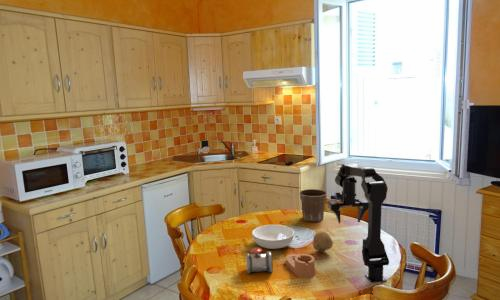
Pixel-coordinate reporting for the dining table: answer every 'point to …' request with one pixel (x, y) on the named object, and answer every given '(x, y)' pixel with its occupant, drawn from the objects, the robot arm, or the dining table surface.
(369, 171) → the robot arm
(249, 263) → the valve stub
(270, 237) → the serving bowl
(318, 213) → the plant pot
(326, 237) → the natural sponge
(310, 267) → the brown hollow cylinder
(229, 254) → the dining table surface
